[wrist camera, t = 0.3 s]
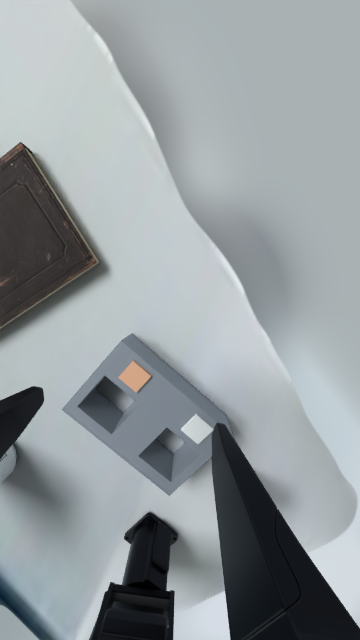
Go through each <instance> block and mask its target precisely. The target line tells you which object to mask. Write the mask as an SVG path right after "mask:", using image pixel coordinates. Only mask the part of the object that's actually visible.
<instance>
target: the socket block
mask: <svg viewBox="0 0 360 640" xmlns="http://www.w3.org/2000/svg"><path fill="white" fill-rule="evenodd" d="M105 377H107V378H108V379H110V380H111V381H112V382H113V383H114V384H116V385H117V386H118V387H119V388H120V389H122V390H123V391H124V392H125V393H126V394H128V395H129V396H130V397H131V398H132V399H134V400H135V401H134V402H133V403H132V405H131V406H130V407H129V408H128V409H127V410H126V411H125V412H124V413H123V412H121V411H120V410H119V409H118V408H117V407H115V406H114V405H113V404H112V403H110V402H109V401H108V400H107V399H106V398H104V397H103V396H102V395H101V394H100V393H98V392H97V391H96V390H95V388H96V387H97V386H98V385H99V383H100V382H101V381H102V380H103V379H104V378H105ZM62 410H63V411H64V412H65V413H67V414H68V415H69V416H70V417H72V418H73V419H74V420H75V421H77V422H78V423H79V424H80V425H82V426H83V427H84V428H85V429H87V430H88V431H89V432H90V433H92V434H93V435H94V436H95V437H97V438H98V439H99V440H100V441H102V442H103V443H104V444H105V445H107V446H108V447H109V448H110V449H112V450H113V451H114V452H115V453H117V454H118V455H119V456H120V457H121V458H123V459H124V460H125V461H126V462H128V463H129V464H130V465H131V466H133V467H134V468H135V469H136V470H138V471H139V472H140V473H141V474H143V475H144V476H145V477H146V478H148V479H149V480H150V481H151V482H153V483H154V484H155V485H156V486H158V487H159V488H160V489H161V490H163V491H164V492H165V493H166V494H168V495H169V496H170V495H171V494H172V493H173V492H174V491H175V490H176V489H177V488H178V487H179V486H180V485H182V484H183V483H184V482H185V481H186V480H187V479H188V478H189V477H190V476H191V475H192V474H194V473H195V472H196V471H197V470H198V469H199V468H200V467H201V466H202V465H203V464H204V463H205V462H207V461H208V460H209V459H210V458H211V457H212V432H213V430H214V427H215V424H216V423H217V422H219V423H224V424H225V425H226V427H227V428H228V430H229V431H230V433H231V435H232V436H233V434H232V431H231V428H230V425H229V422H228V419H227V416H226V414H225V413H224V412H223V411H221V410H220V409H219V408H218V407H217V406H216V405H214V404H213V403H212V402H211V401H210V400H209V399H207V398H206V397H205V396H204V395H203V394H202V393H201V392H199V391H198V390H197V389H196V388H195V387H194V386H192V385H191V384H190V383H189V382H188V381H187V380H185V379H184V378H183V377H182V376H181V375H180V374H179V373H177V372H176V371H175V370H174V369H173V368H172V367H170V366H169V365H168V364H167V363H166V362H165V361H163V360H162V359H161V358H160V357H159V356H158V355H157V354H155V353H154V352H153V351H152V350H151V349H150V348H148V347H147V346H146V345H145V344H144V343H143V342H141V341H140V340H139V339H138V338H137V337H136V336H134V335H133V334H130V335H129V336H127V337H126V338H124V339H123V340H121V341H120V343H119V344H118V345H117V346H116V347H115V348H114V349H113V351H112V352H111V353H110V354H109V355H108V356H107V358H106V359H105V360H104V361H103V362H102V363H101V365H100V366H99V367H98V368H97V369H96V370H95V372H94V373H93V374H92V375H91V376H90V377H89V379H88V380H87V381H86V382H85V383H84V384H83V385H82V387H81V388H80V389H79V390H78V391H77V392H76V394H75V395H74V396H73V397H72V398H71V399H70V401H69V402H68V403H67V404H66V405H65V406H64V408H63V409H62ZM166 428H168V429H170V430H171V431H172V432H173V433H174V434H176V435H177V436H178V437H179V438H180V439H182V440H183V441H184V442H185V444H184V445H182V446H181V447H180V448H179V449H178V450H177V451H176V452H175V453H174V454H172V453H171V452H170V451H169V450H168V449H166V448H165V447H164V446H163V445H161V444H160V443H159V442H158V441H157V440H155V439H156V438H157V437H158V436H159V435H160V434H161V433H162V432H163V431H164V430H165V429H166Z"/></svg>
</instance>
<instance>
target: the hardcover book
mask: <svg viewBox="0 0 360 640" xmlns="http://www.w3.org/2000/svg"><path fill="white" fill-rule="evenodd" d="M97 264H99V261H98V259H97V258H96V256H95V255H94V253H93V251H92V250H91V248H90V247H89V245H88V244H87V242H86V240H85V239H84V237H83V236H82V234H81V232H80V231H79V229H78V228H77V226H76V224H75V223H74V221H73V220H72V218H71V216H70V215H69V213H68V212H67V210H66V209H65V207H64V205H63V204H62V202H61V201H60V199H59V197H58V196H57V194H56V193H55V191H54V189H53V188H52V186H51V185H50V183H49V182H48V180H47V178H46V177H45V175H44V174H43V172H42V170H41V169H40V167H39V166H38V164H37V162H36V161H35V159H34V158H33V156H32V152H31V151H30V150H29V149H28V148H27V147H26V146H25V145H24V144H23V143H21V142H20V143H19V144H17V145H16V146H15V147H14V148H12V149H11V150H10V151H9V152H7V153H6V154H5V155H4V156H3V157H1V158H0V329H1V328H2V327H4V326H5V325H7V324H8V323H10V322H11V321H13V320H14V319H16V318H17V317H19V316H20V315H22V314H23V313H25V312H26V311H28V310H29V309H31V308H32V307H34V306H35V305H37V304H38V303H40V302H41V301H43V300H44V299H46V298H47V297H49V296H50V295H52V294H53V293H55V292H56V291H58V290H60V289H61V288H63V287H64V286H66V285H67V284H69V283H70V282H72V281H73V280H75V279H76V278H78V277H79V276H81V275H82V274H84V273H85V272H87V271H88V270H90V269H91V268H93V267H94V266H96V265H97Z"/></svg>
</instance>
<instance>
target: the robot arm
mask: <svg viewBox="0 0 360 640" xmlns="http://www.w3.org/2000/svg"><path fill="white" fill-rule="evenodd" d="M43 402H44V394H43V389H42V388H41V387H36V386H33V387H30V388H28V389H25V390H23V391H21V392H19V393H16V394H14V395H12V396H9V397H7V398H5V399H3V400H0V459H1V458H2V457H3V455H4V454H5V453H6V452H7V451H8V449H9V448H10V447H11V446H12V445H13V443H14V442H15V441H16V440H17V439H18V437H19V436H20V435H21V434H22V432H23V431H24V429H25V428H26V427H27V425H28V424H29V422H30V421H31V420H32V418H33V417H34V416H35V414H36V413H37V411H38V410H39V409H40V407H41V406H42V404H43ZM212 474H213V484H214V493H215V502H216V511H217V520H218V530H219V539H220V548H221V557H222V566H223V575H224V584H225V593H226V602H227V610H228V620H229V628H230V638H231V640H360V628H359V627H358V625H357V624H356V623H355V621H354V620H353V618H352V617H351V616H350V614H349V613H348V611H347V610H346V609H345V607H344V606H343V604H342V603H341V602H340V600H339V599H338V597H337V596H336V594H335V593H334V592H333V590H332V589H331V587H330V586H329V584H328V583H327V582H326V580H325V579H324V577H323V576H322V575H321V573H320V572H319V570H318V569H317V567H316V566H315V565H314V563H313V562H312V560H311V559H310V557H309V556H308V554H307V553H306V551H305V550H304V549H303V547H302V546H301V544H300V543H299V541H298V540H297V538H296V537H295V535H294V534H293V532H292V530H291V529H290V527H289V526H288V524H287V523H286V521H285V519H284V518H283V516H282V515H281V513H280V511H279V510H278V509H277V507H276V505H275V504H274V502H273V500H272V499H271V497H270V496H269V494H268V492H267V491H266V489H265V488H264V486H263V484H262V483H261V481H260V480H259V478H258V476H257V475H256V473H255V471H254V470H253V468H252V467H251V465H250V463H249V462H248V460H247V459H246V457H245V455H244V454H243V452H242V451H241V449H240V447H239V446H238V444H237V443H236V441H235V439H234V438H233V436H232V435H231V433H230V431H229V430H228V428H227V427H226V425H225V424H224V423H219V422H217V423H216V424H215V427H214V430H213V432H212ZM124 539H125V540H126V541H127V542H129V543H130V544H131V547H130V551H129V556H128V560H127V564H126V569H125V573H124V578H123V582H122V585H119V584H114V583H113V582H110V585H109V588H108V591H106V592H105V594H104V598H103V601H102V605H101V609H100V612H99V615H98V618H97V621H96V623H95V626H94V628H93V631H92V634H91V636H90V639H89V640H173V624H174V591H172V590H171V591H166V588H167V574H168V571H169V558H170V546H171V545H172V544H173V543H174V542H176V541H177V539H178V535H177V533H175V532H174V531H173V530H172V529H170V528H169V527H168V526H166V525H165V524H164V523H163V522H161V521H160V520H159V519H158V518H156V517H155V516H154V515H152V514H151V513H147V514H146V515H145V516H144V517H143V518H141V519H140V520H139V521H138V522H137V523H136V524H135V525H134V526H133V527H132V528H131V529H130V530H128V531H127V532H126V533H125V536H124Z"/></svg>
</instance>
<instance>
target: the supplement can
mask: <svg viewBox="0 0 360 640" xmlns="http://www.w3.org/2000/svg"><path fill="white" fill-rule="evenodd" d="M16 459H17V454H16V450H15V447H14V445H12V446H11V447H10V448H9V449H8V451H7V452H6V453H5V454H4V455H3V457H2V458H1V459H0V484H1V483H2V482H3V481H4V480H5V479H6V478H7V477H8V476H9V475H10V474H11V472H12V471H13V470H14V468H15V464H16Z"/></svg>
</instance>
